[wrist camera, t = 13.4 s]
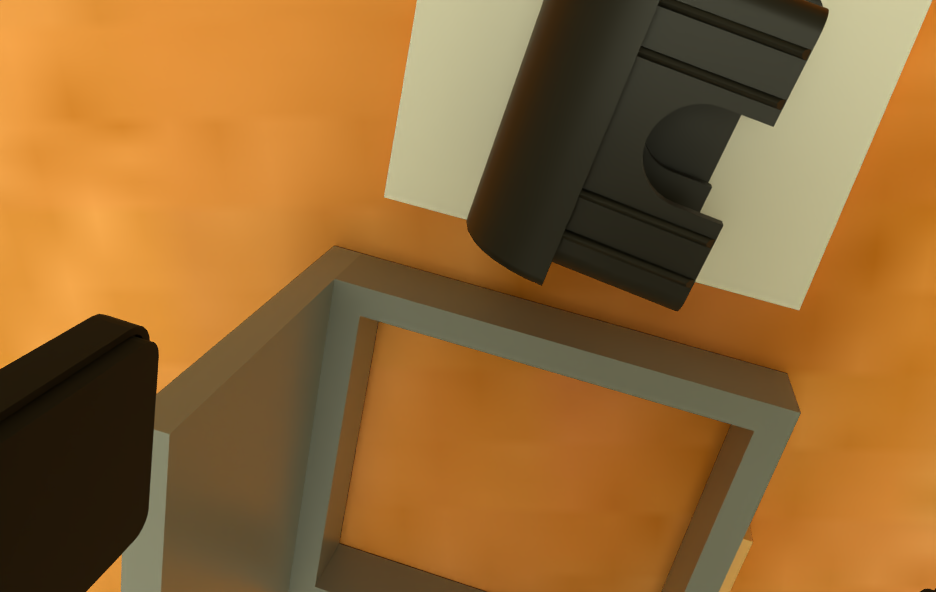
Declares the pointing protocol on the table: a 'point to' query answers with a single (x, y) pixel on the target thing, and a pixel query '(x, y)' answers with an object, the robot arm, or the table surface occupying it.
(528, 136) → the end cap
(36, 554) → the robot arm
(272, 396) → the equipment case
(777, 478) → the table surface
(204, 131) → the table surface
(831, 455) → the table surface
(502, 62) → the grey mat
